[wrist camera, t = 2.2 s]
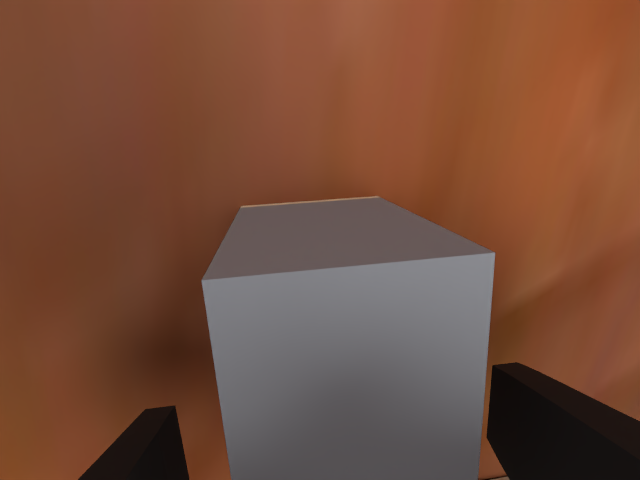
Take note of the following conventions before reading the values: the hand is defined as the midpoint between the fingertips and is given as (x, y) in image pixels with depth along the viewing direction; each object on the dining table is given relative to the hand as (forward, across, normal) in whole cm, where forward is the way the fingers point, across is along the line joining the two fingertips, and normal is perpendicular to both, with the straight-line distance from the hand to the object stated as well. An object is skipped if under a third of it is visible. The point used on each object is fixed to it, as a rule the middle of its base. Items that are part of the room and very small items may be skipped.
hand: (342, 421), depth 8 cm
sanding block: (+4, 0, 0) cm, 4 cm away
